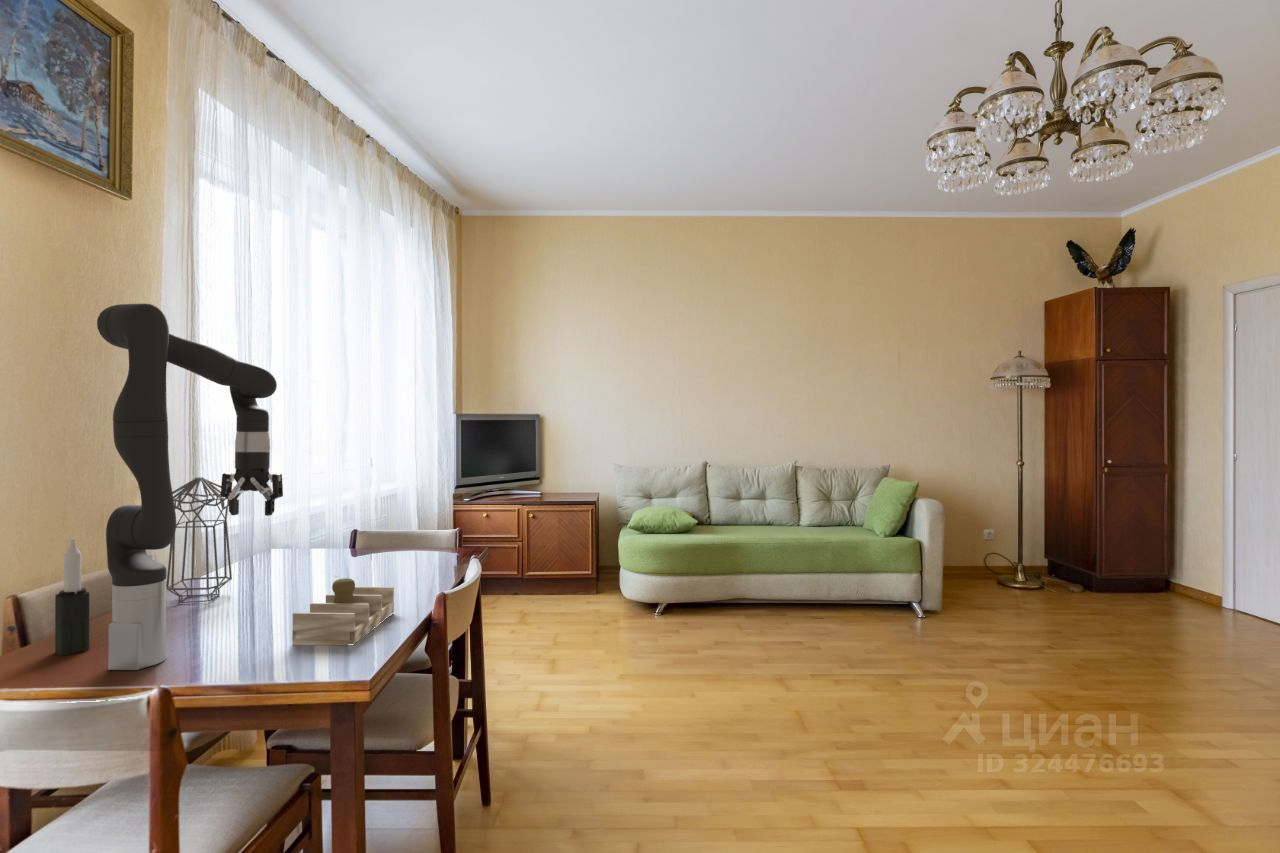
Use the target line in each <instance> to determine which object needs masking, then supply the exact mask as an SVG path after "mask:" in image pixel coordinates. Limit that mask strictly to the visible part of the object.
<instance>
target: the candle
mask: <svg viewBox="0 0 1280 853" xmlns="http://www.w3.org/2000/svg"><path fill="white" fill-rule="evenodd" d="M90 595H91V594H90V591H87V588H84V587H82V552H81V551H80V550H79V548H78V547H77V543H76V538H74V537H72V538H70V543H69V546H68V548H67V550H66V551H65V553H64V555H63V590H60V591H59V592H58V593H56V594H55V597H54V598H55V601H54V602H55V603H54V604H55V606H54V607H55V612H54V613H55V615H54V616H55V617H54V620H55V622H54V632H55V634H54V636H55V637H54V645H55V646H54V652H55V654H57V655H59V656H70V655H73V654H77V652H78V653H81V652H80V651H83V652H86V651H85V650H87V651H89V650H90V608H91V607H90V600H91V599H90V598H91V596H90ZM88 649H89V650H88Z"/></svg>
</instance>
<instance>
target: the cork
mask: <svg viewBox="0 0 1280 853" xmlns="http://www.w3.org/2000/svg"><path fill="white" fill-rule="evenodd" d="M355 587H356V582H355V580H354V579H352V578H345V577H344V578H338V579H336V580H334V581H333V583H332V585H331V588H332V592H333V593H334V594H333V595H334V602H333V603H354V598H353V591H354V589H355Z"/></svg>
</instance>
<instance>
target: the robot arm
mask: <svg viewBox="0 0 1280 853" xmlns="http://www.w3.org/2000/svg"><path fill="white" fill-rule="evenodd" d="M96 320H97V321H96V325H97V327H96V328H97V331H98V332H99V334H100V336H101V337H102V339H103V340H105V341H106V342H107V343H109V345H112V346H113V347H117V348H121V349H125V350H128V351H127V353H128V371H127V372H128V373H127V376H126V380H125V382H124V385H123V386H122V387H123V388H122V389H121V391H120V393H119V395H118V397H117V400H116V401H115V405H114V407H113V411H112V412H113V413H112V429H113V430H112V431H113V442H114V446H115V449H116V451H117V453H118V455H119V456H120V458H121V459H122V460H123V462H124V463H125V465H126V466H127V468H128V469H129V470H130V472H131V474H132V475H133V477H134V478H135V480H136V482H137V485H138V488H139V492H140V500H141V502H140V503H141V504H137V505H135V504H129V505H122V506H119V507H117V508H115V510H113V512H112V513H111V514H110V515H109V517H108V520H107V523H106V527H105V542H106V543H105V544H106V558H107V569H108V572H109V574H110V576H111V583H112V584H111V594H112V595H111V623H109V624H108V646H107V647H108V650H107V651H108V659H107V660H108V661H107V662H108V663H107V664H108V666H107V668H108V671H111V670H112V671H139V670H141V669H144V668H148V667H151V666H155V665H158V664H160V663H162V662H164V661H165V660H167V589H166V584H167V567H166V566H165V564H163V563H160V562H158V561H156V560H155V559H153V558H151V557H150V556H149V555H148V553H147V550H149V551H151V550H153V551H154V550H156V551H157V550H162V549H165V548H167V547H168V546H170V543H171V542H172V540H173V538H174V536H175V537H176V531H177V528H176V524H177V514H176V509H175V506H174V502H175V501H174V500H173V496H174V494H173V493H172V492H173V489H172V488H173V487H172V482H171V481H172V480H171V473H170V457H169V456H170V455H169V424H168V423H169V422H168V420H169V419H168V417H169V416H168V407H167V368H168V366H167V365H168V363H169V364H172V365H174V366H177V367H179V368H182V369H184V370H186V371H189V372H191V373H194V374H195V375H198V376H199V377H202V378H204V379H206V380H209V381H211V382H213V383H216V384H218V385H221V386H227V387H229V392H230V397H231V399H232V400H231V401H232V405H233V407H234V411H235V413H236V433H235V440H234V469H235V473H232V472H226V473H225V472H224V473H223V474H222V475H221V485H220V486H221V488H220V491H221V497H222V498H227V499H226V500H227V501H228V500H229V506H228V512H229V513H230V515H231V516H238V515H239V513H240V499H239V498H240V496H241V495H242V494H243V493H244V492H248V491H249V492H250V491H252V492H259V494H261V495H262V496H263V497H264V499H265V500H264V516H265V517H269V516H272V515H273V514H274V513H275V504H276V503H275V502H276V501H275V500H277V499H279V498H283V495H284V490H283V489H284V488H283V484H284V483H283V474H282V473H272V474H271V473H270V472H269V470H270V467H271V466H270V453H271V452H270V451H271V446H270V445H271V442H270V440H271V439H270V434H269V431H270V429H269V428H270V416H269V412H268V410H267V409H265V408H262V407H259V404H258V401H257V399H266V398H269V397H271V396H272V395H274V394H275V392H276V391H277V388H278V387H277V386H278V384H277V380H276V378H275V376H274V375H273V374H272V373H271V372H270V371H269V370H267V369H264V368H262V367H260V366H257V365H253V364H251V363H249V362H245V361H244V362H243V361H240V360H238V359H236V358H233V357H232V356H230V355H228V354H226V353H224V352H222V351H220V350H219V349H216V348H214V347H211V346H208V345H206V344H203V343H199V342H196V341H193V340H189V339H187V338H182V337H180V336H177V335H174V334H171V333H170V327H169V326H170V325H169V322H168V319H167V316H166V315H165V313H164V312H163V310H161V309H160V308H159V307H158V306H156V305H154V304H151V303H124V304H123V303H121V304H120V303H119V304H115V305H111V306H107V307H106V308H104V309H103V310H102V311H101V312H100V313H99V315H98V316H97V319H96ZM234 481H235V482H236V484H235V485H234V486H233V482H234ZM269 481H270V482H271V483H272V487H271V486H270V484H268V482H269Z"/></svg>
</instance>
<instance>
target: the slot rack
mask: <svg viewBox="0 0 1280 853" xmlns="http://www.w3.org/2000/svg"><path fill="white" fill-rule="evenodd" d="M334 595H335V594H330V593H329V594H325V602H311V603H310V604H309V612H293V613H292V635H291V636H292V637H291V638H292V644H291V645H292V646H349V645H348V644H355V643H356V642H357V641H358V640H360V639H361V638H362V637H363V636H365V635H366V634H367V633H368V632H370V631H371V630H372V629H373V628H374V627H376V626H377V625H378V624H379V623H380V622H382V621H383V620H384V619H385V618H386V617H388V616H389V615H390V614H391V613H393V612H394V611H395V609H394V608H395V602H394V600H395V587H394V586H355V589H354V591H353V598H354V603H333V602H334ZM394 613H395V612H394ZM376 628H377V627H376ZM371 632H372V631H371ZM371 632H370V633H371ZM367 635H368V634H367ZM367 635H366V636H367ZM366 636H365V637H366ZM362 639H363V638H362ZM362 639H361V640H362ZM361 640H360V641H361ZM358 642H359V641H358ZM358 642H357V643H358ZM357 643H356V644H357ZM345 644H347V645H345ZM356 644H355V645H356Z"/></svg>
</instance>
